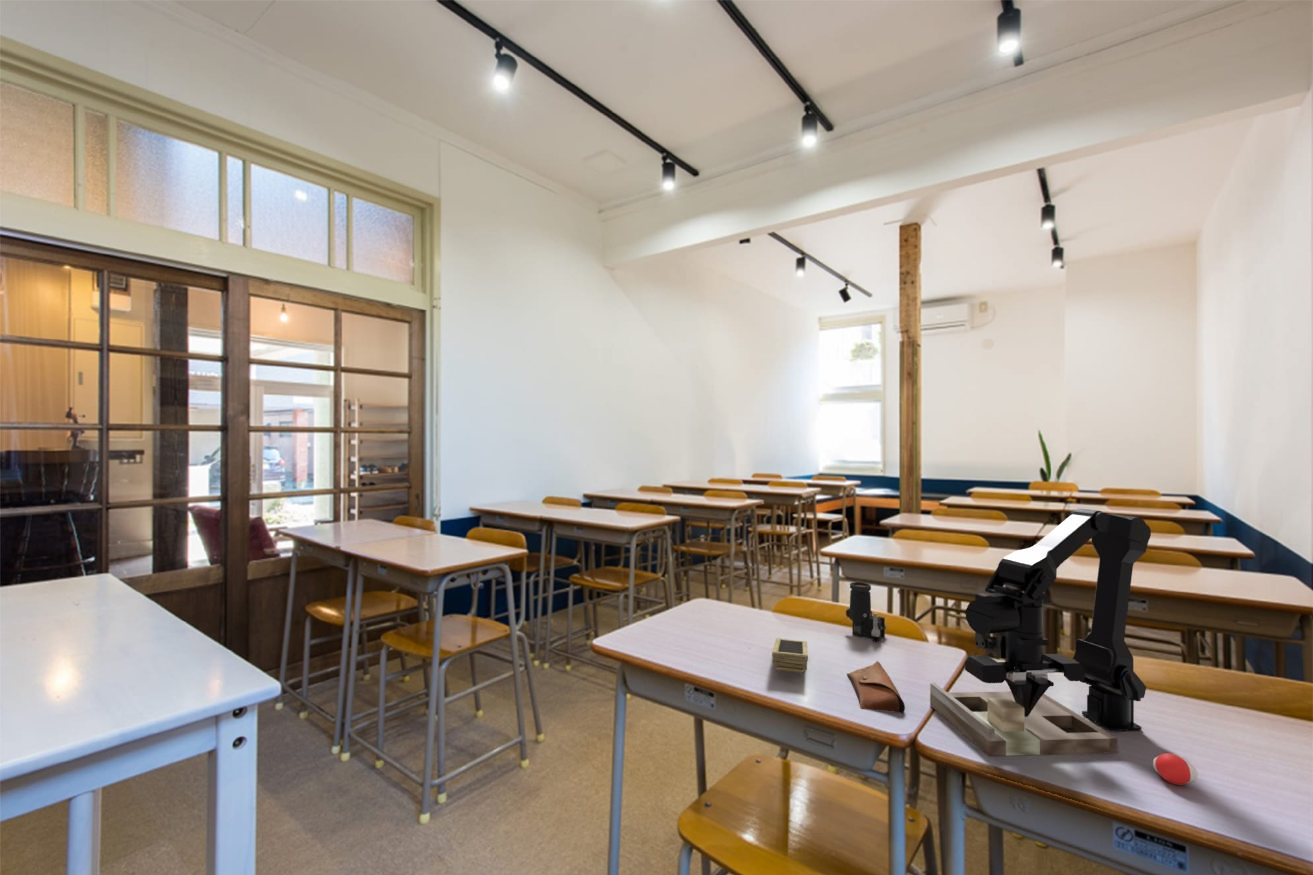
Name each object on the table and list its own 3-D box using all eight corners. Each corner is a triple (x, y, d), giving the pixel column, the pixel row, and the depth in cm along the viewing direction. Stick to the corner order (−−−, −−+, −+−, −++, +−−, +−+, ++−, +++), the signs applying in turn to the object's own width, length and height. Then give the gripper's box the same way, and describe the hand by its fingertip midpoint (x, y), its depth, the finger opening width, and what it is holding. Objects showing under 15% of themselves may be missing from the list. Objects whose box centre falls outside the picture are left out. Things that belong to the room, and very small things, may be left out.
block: (1008, 719, 101) (1008, 697, 101) (1024, 730, 97) (1024, 708, 97) (987, 719, 101) (987, 698, 101) (1002, 731, 97) (1002, 708, 97)
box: (771, 675, 122) (772, 651, 122) (773, 655, 143) (773, 635, 144) (810, 680, 120) (810, 656, 121) (806, 658, 141) (806, 638, 142)
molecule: (1163, 786, 85) (1163, 759, 85) (1148, 769, 90) (1148, 743, 90) (1204, 794, 84) (1204, 766, 84) (1187, 776, 88) (1187, 750, 88)
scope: (878, 591, 145) (840, 584, 152) (877, 644, 145) (840, 635, 152) (887, 585, 152) (851, 579, 158) (887, 635, 151) (851, 627, 158)
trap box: (1039, 703, 113) (1039, 681, 113) (1117, 752, 95) (1117, 726, 95) (930, 705, 111) (930, 682, 111) (988, 755, 93) (988, 729, 93)
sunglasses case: (843, 672, 127) (859, 648, 126) (871, 689, 126) (886, 665, 126) (860, 709, 109) (879, 682, 109) (892, 730, 108) (911, 702, 108)
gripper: (1039, 613, 108) (1039, 693, 108) (947, 615, 107) (947, 696, 106) (1087, 633, 97) (1087, 722, 96) (984, 635, 95) (985, 725, 95)
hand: (1023, 715), depth 99 cm, fingers closed
